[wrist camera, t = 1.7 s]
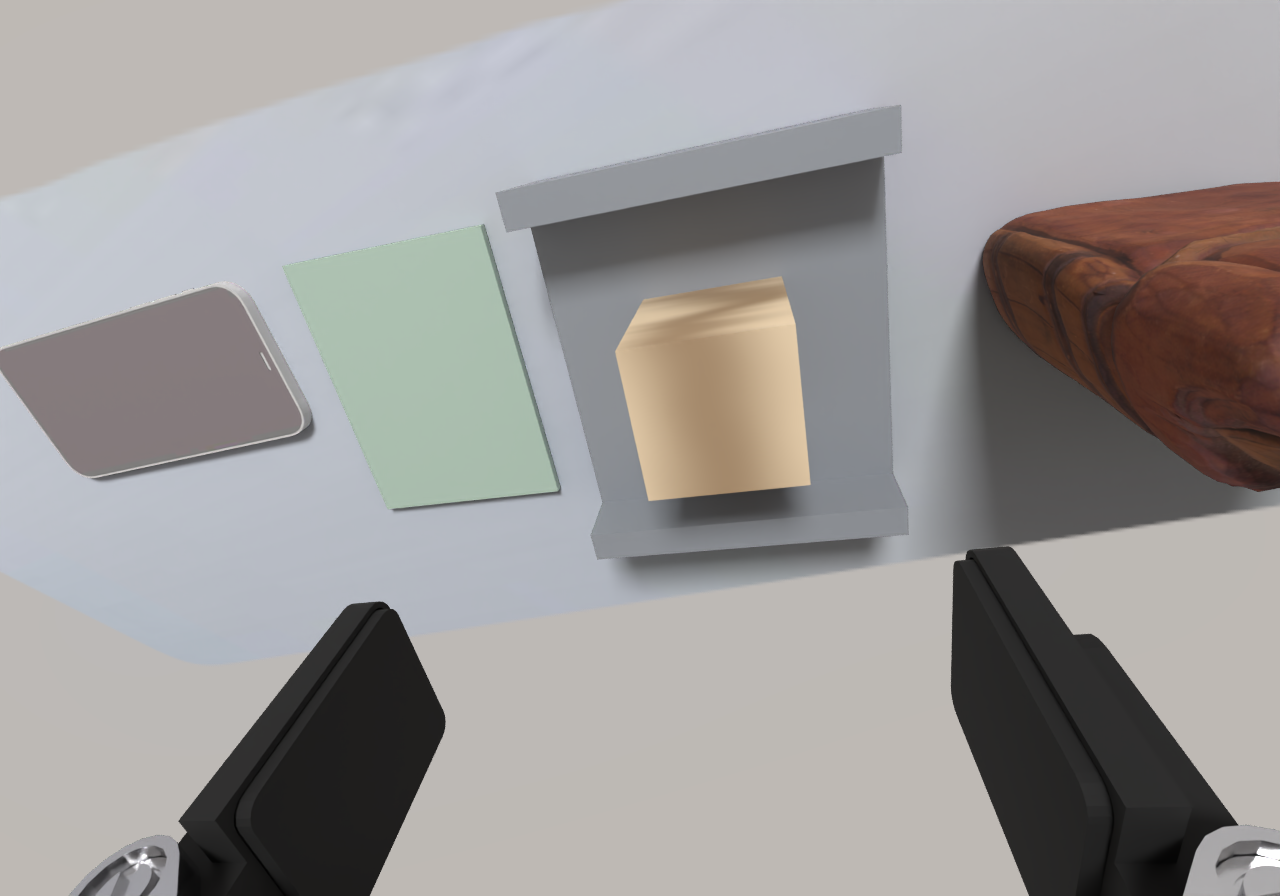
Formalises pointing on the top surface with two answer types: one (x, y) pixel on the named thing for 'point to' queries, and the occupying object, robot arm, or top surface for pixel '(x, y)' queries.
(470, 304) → the sage mat
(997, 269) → the wooden figurine
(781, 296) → the beech block
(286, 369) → the smartphone
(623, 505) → the gray u-shaped channel
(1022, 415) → the top surface
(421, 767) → the robot arm
